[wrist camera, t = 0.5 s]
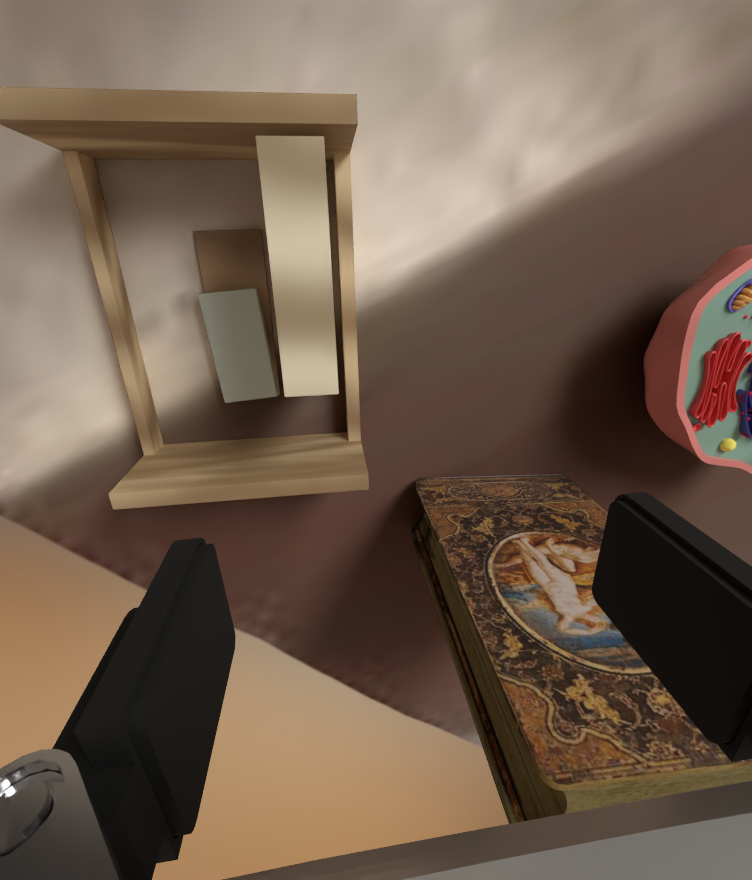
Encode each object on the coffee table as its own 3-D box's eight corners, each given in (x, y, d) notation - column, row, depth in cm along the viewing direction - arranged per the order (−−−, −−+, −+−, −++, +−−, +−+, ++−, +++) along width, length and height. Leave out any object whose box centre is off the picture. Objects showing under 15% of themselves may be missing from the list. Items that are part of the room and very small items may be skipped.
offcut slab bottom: (198, 231, 29) (193, 230, 28) (262, 231, 30) (260, 229, 29) (225, 393, 34) (222, 398, 33) (281, 391, 35) (279, 395, 34)
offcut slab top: (201, 293, 30) (197, 294, 29) (257, 287, 30) (255, 288, 29) (228, 398, 33) (224, 402, 32) (278, 392, 33) (277, 396, 32)
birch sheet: (278, 180, 28) (255, 135, 18) (322, 180, 29) (323, 136, 19) (295, 356, 33) (284, 396, 23) (333, 354, 33) (338, 393, 23)
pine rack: (74, 136, 26) (-22, 86, 19) (347, 138, 28) (356, 94, 20) (156, 457, 35) (113, 509, 28) (359, 444, 37) (368, 489, 29)
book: (575, 473, 41) (900, 741, 18) (563, 520, 43) (840, 814, 20) (411, 477, 39) (543, 788, 16) (408, 526, 41) (519, 862, 18)
